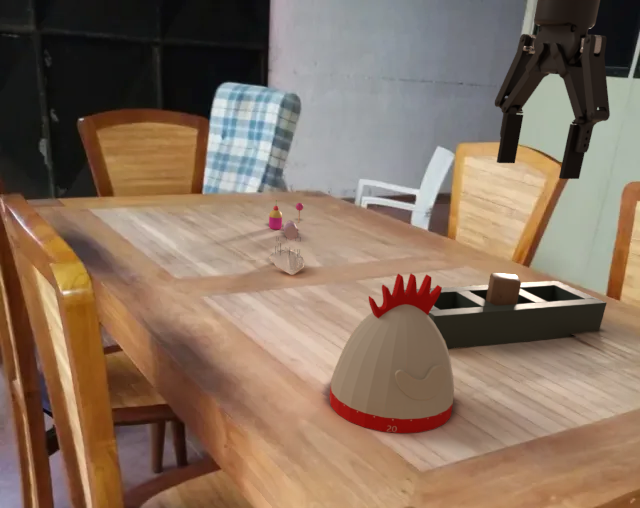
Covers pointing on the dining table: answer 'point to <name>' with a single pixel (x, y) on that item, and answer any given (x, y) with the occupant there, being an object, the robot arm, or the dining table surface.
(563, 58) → the robot arm
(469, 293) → the socket bar
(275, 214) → the toys
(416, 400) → the kitchen timer
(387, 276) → the dining table surface
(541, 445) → the dining table surface
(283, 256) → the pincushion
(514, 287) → the wooden block
